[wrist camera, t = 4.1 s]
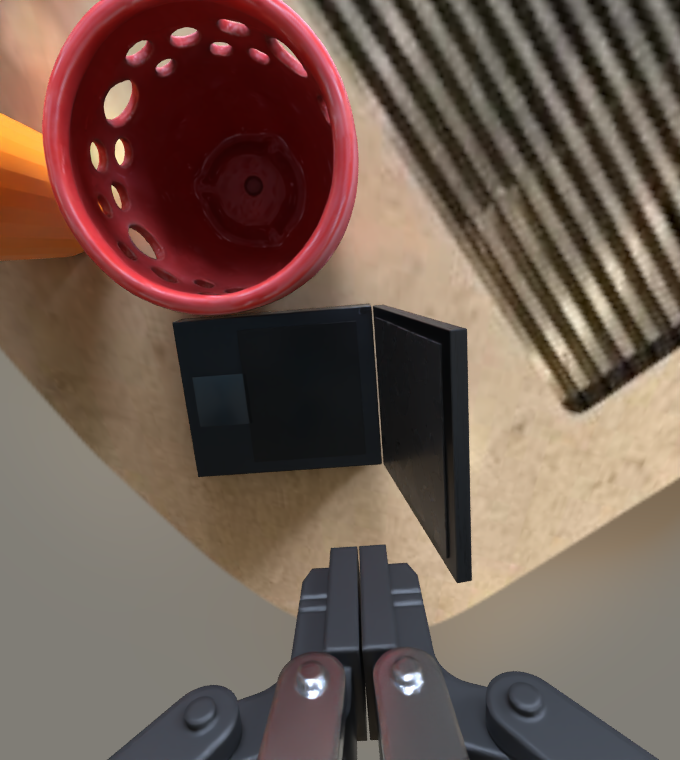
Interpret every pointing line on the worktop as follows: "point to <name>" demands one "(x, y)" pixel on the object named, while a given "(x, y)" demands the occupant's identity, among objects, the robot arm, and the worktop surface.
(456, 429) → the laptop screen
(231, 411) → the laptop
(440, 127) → the worktop surface
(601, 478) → the worktop surface
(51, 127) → the flower pot
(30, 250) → the shaker bottle
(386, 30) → the worktop surface
